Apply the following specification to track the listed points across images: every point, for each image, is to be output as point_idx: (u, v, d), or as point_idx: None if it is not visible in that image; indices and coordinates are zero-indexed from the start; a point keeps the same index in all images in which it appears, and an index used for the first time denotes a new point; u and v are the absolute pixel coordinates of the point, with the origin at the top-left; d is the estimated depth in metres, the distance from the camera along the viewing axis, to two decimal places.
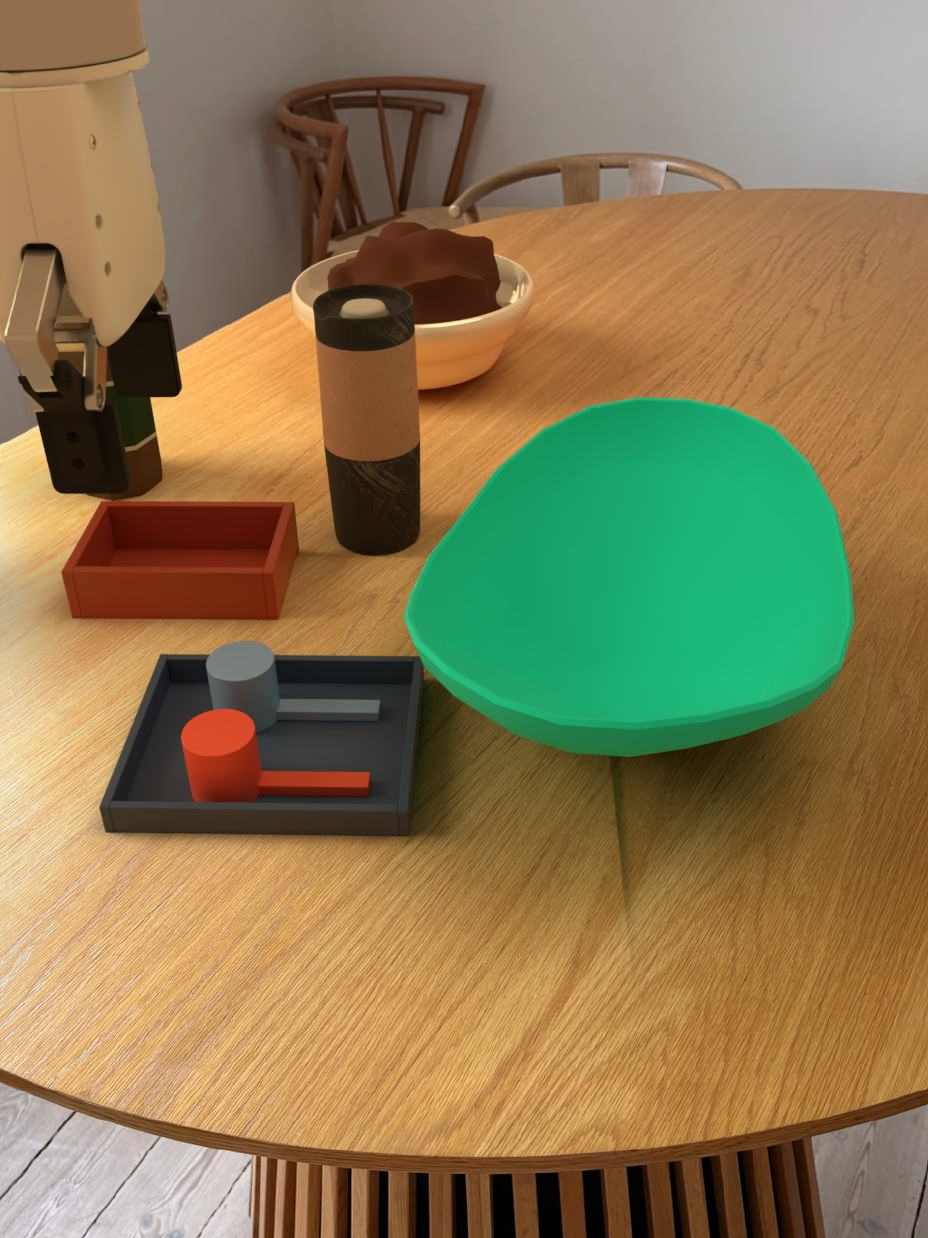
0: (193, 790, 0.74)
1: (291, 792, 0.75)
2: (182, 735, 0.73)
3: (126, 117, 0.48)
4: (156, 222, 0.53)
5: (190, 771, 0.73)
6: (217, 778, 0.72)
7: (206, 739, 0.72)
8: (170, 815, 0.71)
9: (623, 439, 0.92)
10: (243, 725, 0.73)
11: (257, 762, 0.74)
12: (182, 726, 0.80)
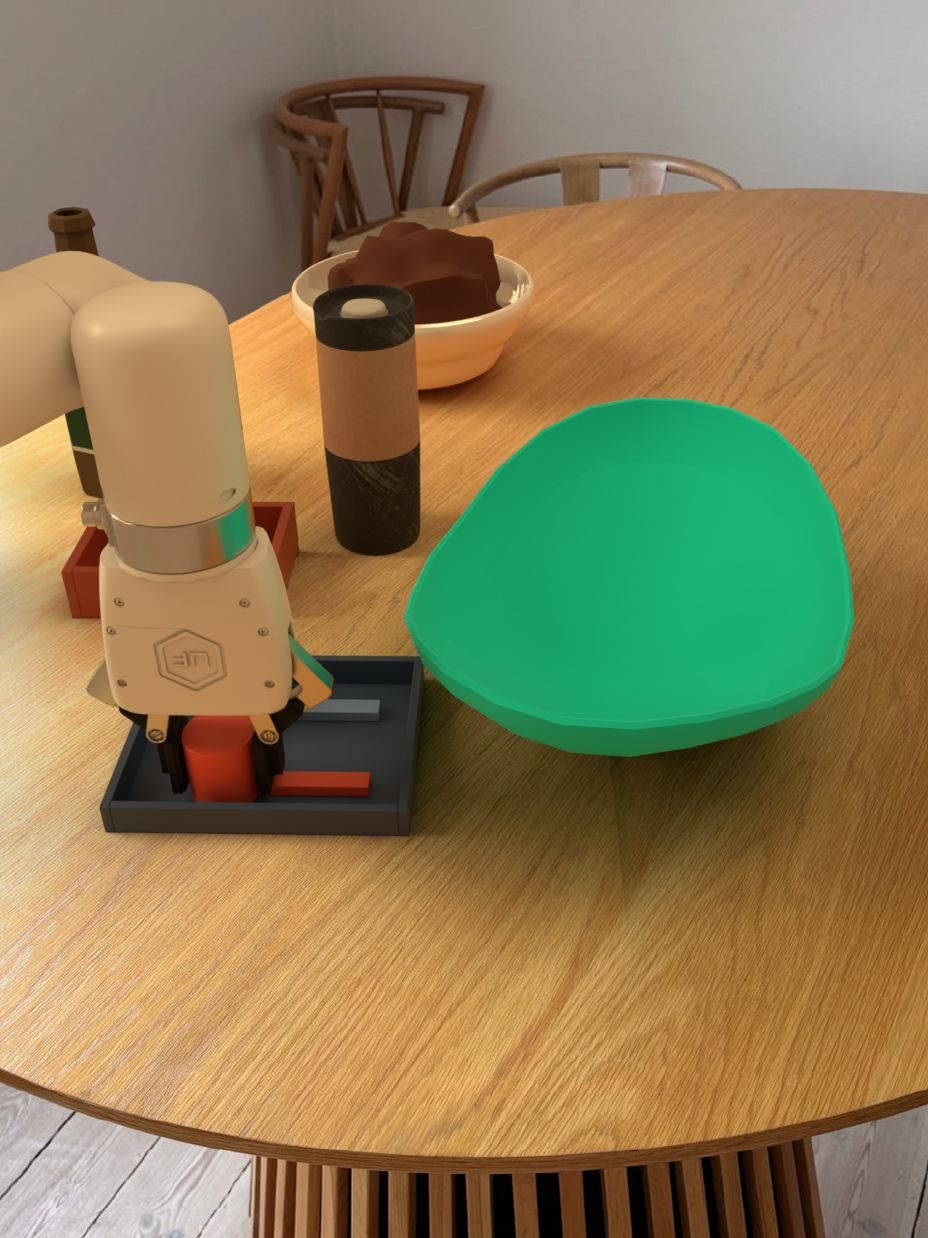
0: (193, 790, 0.74)
1: (291, 792, 0.75)
2: (182, 735, 0.73)
3: None
4: None
5: (190, 771, 0.73)
6: (217, 778, 0.72)
7: (206, 739, 0.72)
8: (170, 815, 0.71)
9: (623, 439, 0.92)
10: (243, 725, 0.73)
11: None
12: None
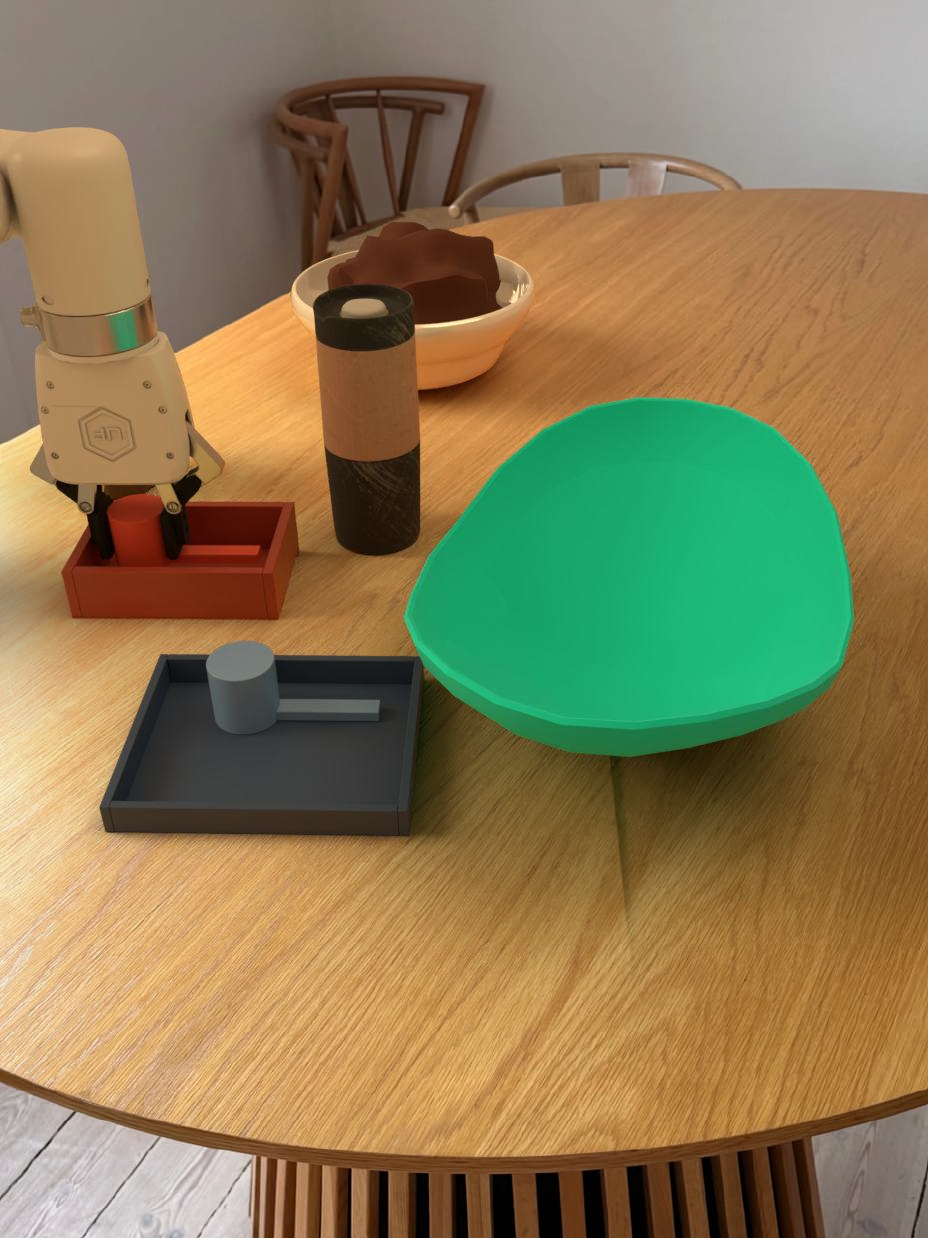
0: (117, 556, 0.93)
1: (196, 560, 0.93)
2: (107, 510, 0.91)
3: None
4: None
5: (114, 539, 0.92)
6: (135, 542, 0.91)
7: (126, 512, 0.91)
8: (170, 815, 0.71)
9: (623, 439, 0.92)
10: (157, 503, 0.92)
11: None
12: (182, 726, 0.80)
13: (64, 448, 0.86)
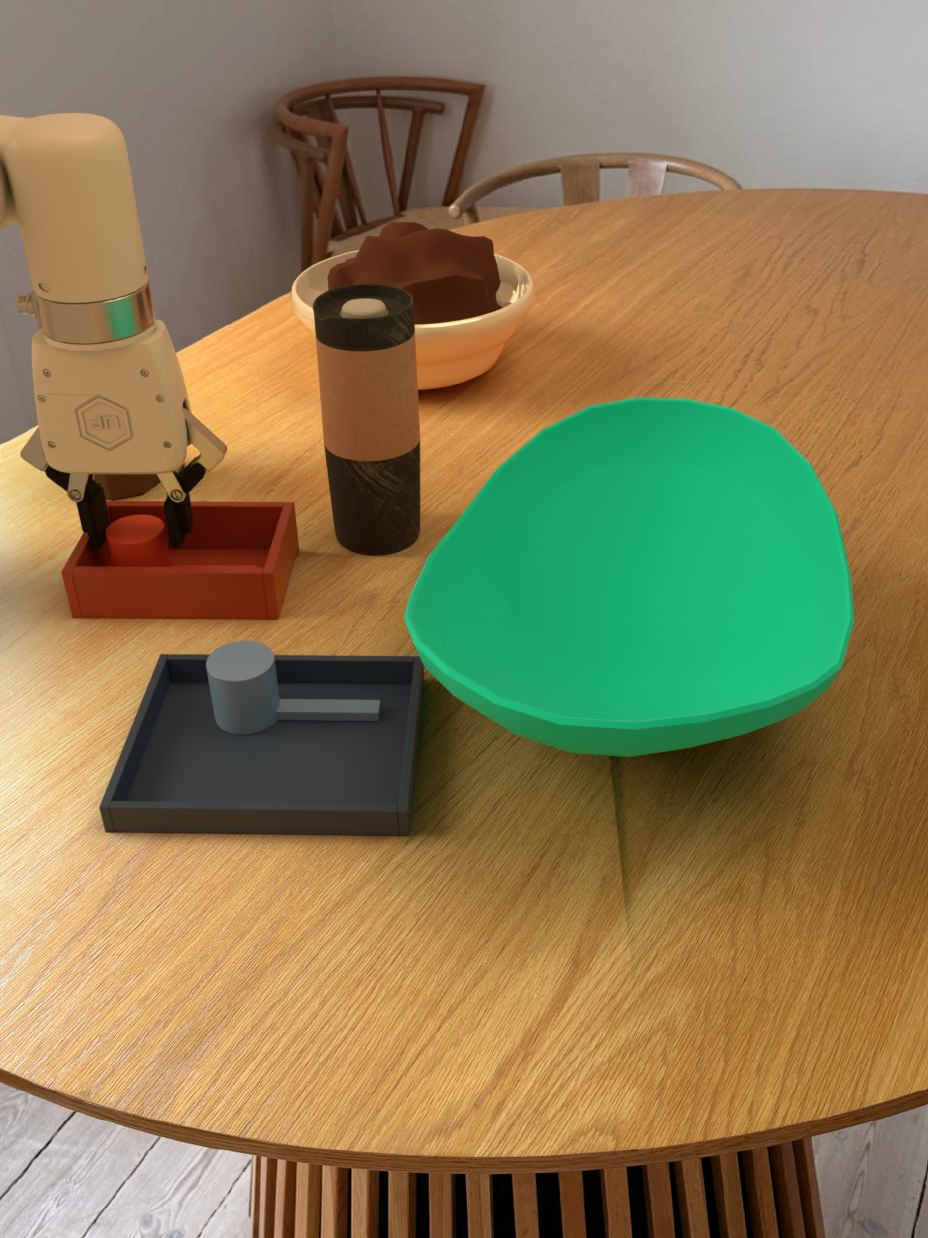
0: None
1: None
2: (106, 531, 0.92)
3: None
4: None
5: (113, 559, 0.93)
6: (133, 563, 0.92)
7: (125, 533, 0.92)
8: (170, 815, 0.71)
9: (623, 439, 0.92)
10: (155, 524, 0.93)
11: (166, 554, 0.94)
12: (182, 726, 0.80)
13: (61, 437, 0.85)
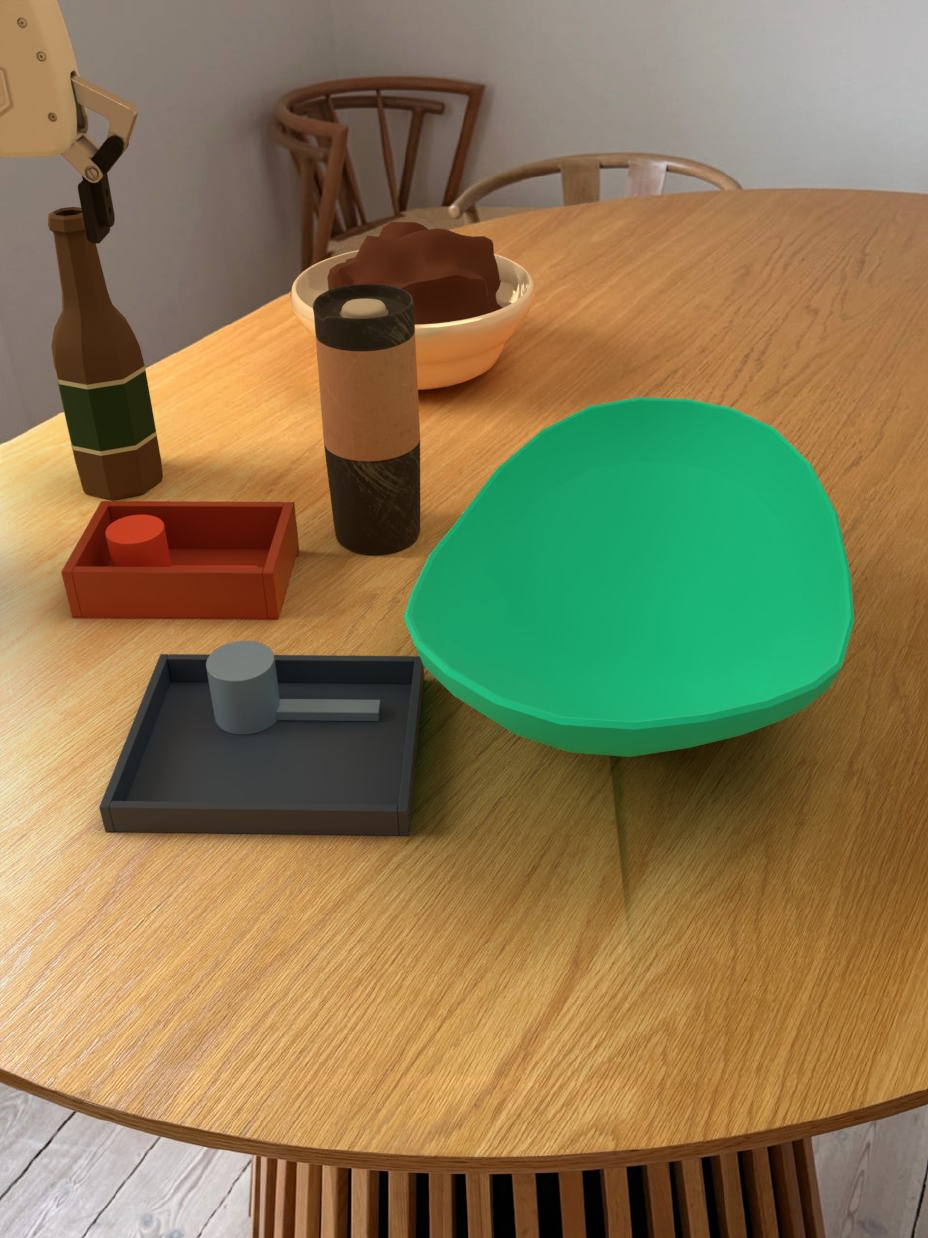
0: None
1: None
2: (106, 531, 0.92)
3: None
4: None
5: (113, 559, 0.93)
6: (133, 563, 0.92)
7: (125, 533, 0.92)
8: (170, 815, 0.71)
9: (623, 439, 0.92)
10: (155, 524, 0.93)
11: (166, 554, 0.94)
12: (182, 726, 0.80)
13: None
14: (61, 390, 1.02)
